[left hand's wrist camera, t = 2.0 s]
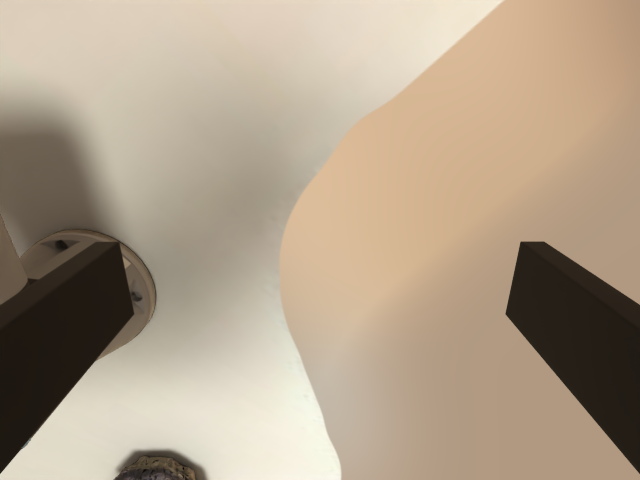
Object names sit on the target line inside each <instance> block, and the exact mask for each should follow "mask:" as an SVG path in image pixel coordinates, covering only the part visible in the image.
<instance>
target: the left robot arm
mask: <svg viewBox="0 0 640 480" xmlns="http://www.w3.org/2000/svg"><path fill="white" fill-rule="evenodd" d="M155 299H156V296H155V288H154V284H153V281H152V278H151V276H150V274H149V272H148V270H147V268H146V267H145V265H144V264H143V263H142V261H141V260H140V259H139V258H138V257H137V256H136V255H135V254H134V253H133V252H132V251H131V250H130V249H129V248H127V247H126V246H125V245H123V244H122V243H120V242H119V241H117V240H115V239H113V238H111V237H109V236H106V235H104V234H101V233H98V232H94V231H88V230H65V231H60V232H57V233H54V234H52V235H50V236H48V237H46V238H44V239H42V240H40V241H39V242H37V243H35V244H34V245H33V246H32V247H31V248H30V249H28V250H27V251H26V252H25V253H24V254H23V256H22V257H21V258H20V259H19V257H18V255H17V252H16V250H15V248H14V245H13V243H12V241H11V238H10V236H9V234H8V232H7V229H6V227H5V224H4V222H3V219H2V217H1V215H0V474H1V472H2V471H3V470H4V469H5V468H6V466H7V465H8V464H9V463H10V462H11V460H12V459H13V458H14V457H15V456H16V454H17V453H18V452H19V451H20V450H21V449H23V448H24V447H25V446H26V445H27V444H28V443H29V441H31V438H32V437H33V436H34V434H35V433H36V432H37V431H38V430H39V428H40V427H41V426H42V425H43V424H44V422H45V421H46V420H47V419H48V418H49V416H50V415H51V414H52V413H53V411H54V410H55V409H56V408H57V407H58V405H59V404H60V403H61V402H62V401H63V399H64V398H65V397H66V396H67V394H68V393H69V392H70V391H71V390H72V388H73V387H74V386H75V385H76V384H77V382H78V381H79V380H80V379H81V377H82V376H83V375H84V374H85V373H86V371H87V370H88V369H89V368H90V367H91V365H92V364H93V363H94V362H95V361H96V360H98V359H100V358H102V357H103V356H105V355H107V354H109V353H111V352H112V351H114V350H116V349H118V348H119V347H121V346H123V345H125V344H126V343H128V342H129V341H131V340H132V339H133V338H135V337H136V336H137V335H138V334H139V333H140V332H141V331H142V329H143V328H144V327H145V326H146V324H147V323H148V322H149V320H150V318H151V316H152V314H153V311H154V308H155ZM506 315H507V317H508V318H509V319H510V320H511V321H512V322H513V324H514V325H515V326H516V327H517V328H518V330H519V331H520V332H521V333H522V334H523V336H524V337H525V338H526V339H527V340H528V341H529V343H530V344H531V345H532V346H533V347H534V349H535V350H536V351H537V352H538V353H539V354H540V356H541V357H542V358H543V359H544V360H545V362H546V363H547V364H548V365H549V366H550V368H551V369H552V370H553V371H554V372H555V374H556V375H557V376H558V377H559V378H560V380H561V381H562V382H563V383H564V384H565V386H566V387H567V388H568V389H569V390H570V391H571V393H572V394H573V395H574V396H575V397H576V399H577V400H578V401H579V402H580V403H581V404H582V406H583V407H584V408H585V409H586V410H587V412H588V413H589V414H590V415H591V416H592V418H593V419H594V420H595V421H596V422H597V424H598V425H599V426H600V427H601V428H602V430H603V431H604V432H605V433H606V434H607V435H608V437H609V438H610V439H611V440H612V441H613V443H614V444H615V445H616V446H617V447H618V449H619V450H620V451H621V452H622V453H623V454H624V456H625V457H626V458H627V459H628V460H629V462H630V463H631V464H632V465H633V466H634V468H635V469H636V470H637V471H638V472H639V474H640V305H639V304H638V303H636V302H635V301H633V300H632V299H630V298H628V297H627V296H625V295H624V294H622V293H621V292H619V291H618V290H616V289H615V288H613V287H612V286H610V285H609V284H607V283H606V282H604V281H603V280H601V279H600V278H598V277H597V276H595V275H594V274H592V273H591V272H589V271H588V270H586V269H585V268H583V267H582V266H580V265H579V264H577V263H576V262H574V261H573V260H571V259H570V258H568V257H566V256H565V255H563V254H562V253H560V252H559V251H557V250H556V249H554V248H553V247H551V246H550V245H548V244H547V243H545V242H521V243H520V247H519V252H518V257H517V262H516V266H515V271H514V276H513V281H512V286H511V290H510V295H509V300H508V305H507V309H506Z"/></svg>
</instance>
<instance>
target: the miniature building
mask: <svg viewBox="0 0 640 480" xmlns="http://www.w3.org/2000/svg"><path fill="white" fill-rule="evenodd" d="M172 459H173V458H167V457H150V458H149V457H147V456H146V457H145V456H143V457H140V458H139V460H138V461H137V462H136V463H135V464H134V463H133V465H131V466H129V467H128V468H126V467H125V469H124V470H123V471H122V472H121V473H120V474H119V475H118V476H117V477H116V478H115V479H114V480H145V479H146V480H147V479H148V480H149V474H150V473H151V472H152V470H153V475H152V473H151V474H150V476H151V477H150V478H152V479H151V480H172V479H174V480H179V479H180V480H185V477H186V478H187V479H188V480H196V478H195V474H194V471H193V470H192V469H190V468H189V467H186V466H184V470H183V469H182V468H183V466H182V465H181V464H179V463H178V462H177V461H175V460H172ZM146 460H147V463H148V464H147V463H146ZM155 460H158V462H157V461H155ZM153 461H155V463H153ZM146 464H147V465H146ZM177 465H181V466H177ZM151 466H155V467H151ZM140 468H141V469H140ZM163 468H164V471H165V472H164V471H163ZM138 469H139V470H138ZM144 469H147V471H145V472H143V470H144ZM148 469H149V470H148ZM165 469H166V470H165ZM170 471H171V473H170ZM180 471H181V473H180ZM142 472H143V473H142ZM172 472H173V473H172ZM186 474H187V475H189V476H190V477H189V476H187V475H186ZM177 475H178V476H177ZM182 475H183V476H184V478H183V476H182ZM164 477H165V478H164Z"/></svg>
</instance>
